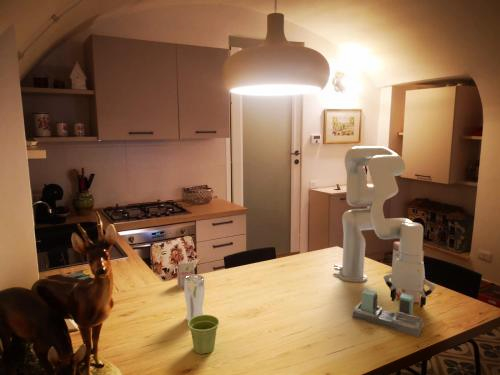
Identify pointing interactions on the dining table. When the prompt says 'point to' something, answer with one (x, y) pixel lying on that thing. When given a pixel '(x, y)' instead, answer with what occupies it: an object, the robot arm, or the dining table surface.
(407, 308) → the pale teal block
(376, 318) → the grey compartment tray
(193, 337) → the plant pot
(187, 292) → the beer glass
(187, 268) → the tea bag
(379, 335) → the dining table surface
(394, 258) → the cracker box
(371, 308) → the teal rectangular block
